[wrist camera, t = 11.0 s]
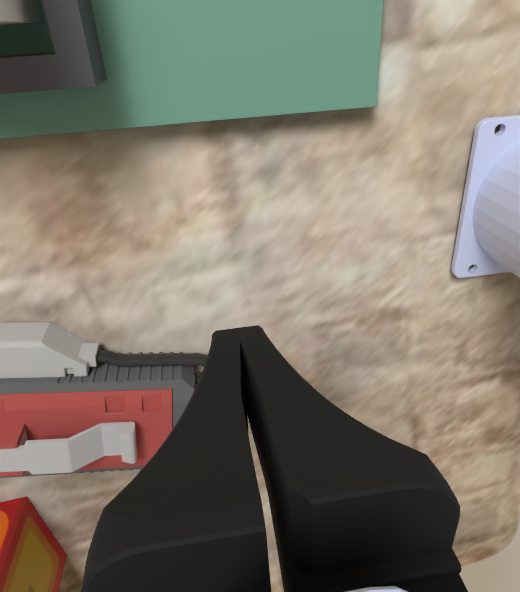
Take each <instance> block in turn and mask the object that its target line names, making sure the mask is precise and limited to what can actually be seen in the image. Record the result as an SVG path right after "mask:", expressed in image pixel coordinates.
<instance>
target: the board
mask: <svg viewBox="0 0 520 592" xmlns="http://www.w3.org/2000/svg"><path fill="white" fill-rule="evenodd" d="M37 2H38V5H39V9H40V13H41V17H42V21H43V23H35V24H21V25H6V26H0V139H5V138H17V137H28V136H40V135H51V134H63V133H74V132H86V131H98V130H109V129H121V128H132V127H144V126H156V125H167V124H179V123H190V122H202V121H213V120H225V119H237V118H248V117H260V116H271V115H283V114H294V113H306V112H318V111H329V110H341V109H352V108H364V107H376V103H377V88H378V72H379V57H380V41H381V26H382V10H383V0H37Z"/></svg>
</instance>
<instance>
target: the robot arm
mask: <svg viewBox="0 0 520 592" xmlns="http://www.w3.org/2000/svg"><path fill="white" fill-rule="evenodd" d="M498 124H500V130H499V131H498V132H497V133H496V134H495V133H494V130H495V128H496V126H497V125H498ZM471 265H473V267H472V268H471V269H470V270H468V268H469V267H470V266H471ZM451 272H452V273H453V274H454V275H455V276H456V277H458V278H466V277H474V276H482V275H490V274H498V273H506V272H512V273H513V274H515V275H516V276H517V277H519V278H520V115H511V116H500V117H489V118H485V119H482V120H481V121H480V122H479V123H478V124H477V125H476V128H475V131H474V137H473V143H472V149H471V155H470V161H469V167H468V173H467V179H466V185H465V190H464V196H463V202H462V208H461V214H460V220H459V226H458V232H457V238H456V243H455V249H454V255H453V261H452V267H451ZM247 415H248V418H247ZM248 419H249V423H250V426H251V430H252V434H253V438H254V442H255V445H256V449H257V453H258V456H259V460H260V464H261V468H262V471H263V475H264V479H265V483H266V487H267V492H268V496H269V502H270V508H271V514H272V520H273V526H274V532H275V538H276V544H277V550H278V557H279V563H280V569H281V575H282V581H283V588H284V592H468V591H467V589H466V587H465V585H464V583H463V581H462V579H461V577H460V575H459V573H460V572H461V565H460V562H459V561H458V559H457V557H456V555H455V553H454V551H453V549H452V545H453V541H454V537H455V533H456V530H457V526H458V522H459V518H460V506H459V503H458V501H457V498H456V496H455V495H454V493H453V491H452V490H451V488H450V486H449V484H448V483H447V481H446V480H445V479H444V477H443V476H442V474H441V473H440V472H439V470H438V469H437V468H436V467H435V465H434V464H433V463H432V461H431V460H430V459H429V457H428V456H427V455H426V454H423V453H421V452H419V451H417V450H414V449H412V448H410V447H408V446H405V445H403V444H401V443H398V442H396V441H394V440H392V439H390V438H388V437H386V436H384V435H382V434H380V433H378V432H376V431H374V430H373V429H371V428H369V427H367V426H365V425H364V424H362V423H361V422H359V421H357V420H356V419H354V418H353V417H351V416H350V415H348V414H346V413H345V412H343V411H342V410H341V409H339V408H338V407H336V406H335V405H334V404H332V403H331V402H330V401H329V400H327V399H326V398H325V397H324V396H322V395H321V394H320V393H319V392H318V391H316V390H315V389H314V388H313V387H312V386H311V385H310V384H309V383H308V382H307V381H306V380H305V379H303V378H302V377H301V376H300V375H299V374H298V373H297V372H296V371H295V369H294V368H293V367H292V366H291V365H290V364H289V363H288V362H287V361H286V360H285V358H284V357H283V356H282V355H281V354H280V353H279V351H278V350H277V349H276V348H275V346H274V345H273V344H272V342H271V341H270V340H269V338H268V337H267V335H266V334H265V332H264V330H263V329H262V328H261V327H260V326H259V325H258V326H250V327H242V328H234V329H227V330H219V331H215V332H214V333H213V334H212V342H211V347H210V351H209V354H208V358H207V361H206V364H205V366H204V369H203V372H202V374H201V377H200V379H199V382H198V384H197V386H196V388H195V390H194V392H193V395H192V397H191V399H190V401H189V403H188V405H187V406H186V408H185V410H184V412H183V414H182V415H181V417H180V419H179V420H178V422H177V423H176V425H175V427H174V428H173V430H172V431H171V432H170V434H169V435H168V437H167V438H166V440H165V441H164V443H163V444H162V445H161V447H160V448H159V449H158V451H157V452H156V453H155V454H154V456H153V457H152V458H151V459H150V460H149V462H148V463H147V464H146V465H145V466H144V467H143V469H142V470H141V471H140V472H139V473H138V475H137V476H136V477H135V478H134V479H133V480H132V481H131V482H130V483H129V484H128V485H127V486H126V487H125V488H124V489H123V490H122V491H121V492H120V493H119V494H118V495H117V496H116V497H115V498H114V499H113V500H112V501H111V502H110V503H109V504H108V505H107V506H106V507H105V508H104V509H103V511H102V514H101V516H100V519H99V521H98V524H97V527H96V530H95V533H94V536H93V539H92V542H91V545H90V548H89V552H88V556H87V561H86V566H85V572H84V578H83V584H82V589H81V592H271V584H270V572H269V561H268V549H267V537H266V528H265V521H264V515H263V509H262V503H261V497H260V493H259V488H258V483H257V478H256V473H255V468H254V463H253V458H252V453H251V448H250V442H249V437H248Z"/></svg>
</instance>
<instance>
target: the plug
mask: <svg viewBox="0 0 520 592" xmlns="http://www.w3.org/2000/svg"><path fill="white" fill-rule="evenodd" d="M35 23H43V21H42V17H41V13H40V9H39V5H38V2H37V0H0V26H6V25H21V24H35Z"/></svg>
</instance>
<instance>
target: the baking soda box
mask: <svg viewBox="0 0 520 592" xmlns="http://www.w3.org/2000/svg"><path fill="white" fill-rule="evenodd" d="M65 560H66V553H65V552H64V550H63V549H62V547H61V546H60V544H59V543H58V541H57V540H56V538H55V537H54V536H53V534H52V533H51V531H50V530H49V528H48V527H47V525H46V524H45V522H44V521H43V519H42V518H41V517H40V515H39V514H38V512H37V511H36V509H35V508H34V506H33V505H32V503H31V502H30V501H29V499H28V498H27V497H23V498H18V499H14V500H10V501H5V502H1V503H0V592H58V591H59V587H60V582H61V578H62V573H63V569H64V564H65Z"/></svg>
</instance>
